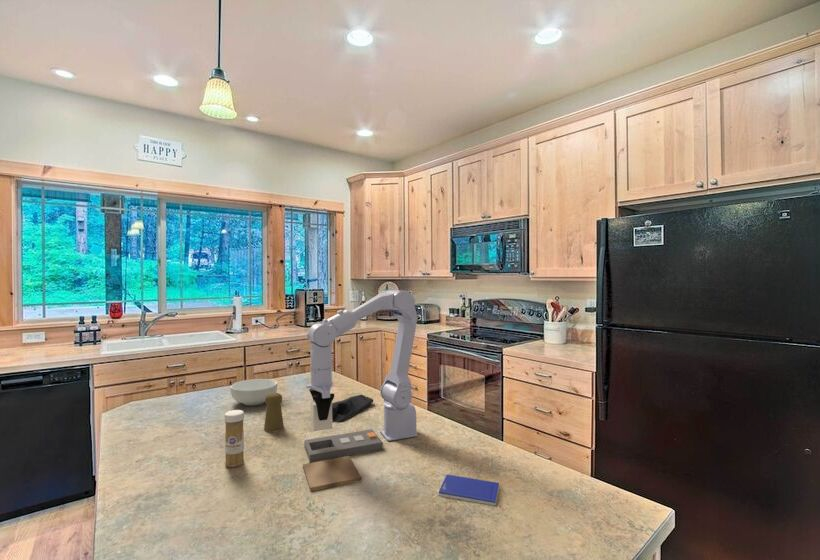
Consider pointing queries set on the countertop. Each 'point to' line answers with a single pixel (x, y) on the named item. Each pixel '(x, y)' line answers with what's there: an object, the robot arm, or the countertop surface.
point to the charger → (316, 422)
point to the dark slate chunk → (349, 407)
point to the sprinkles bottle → (234, 438)
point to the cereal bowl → (253, 390)
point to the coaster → (331, 473)
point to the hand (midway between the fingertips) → (321, 416)
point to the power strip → (342, 445)
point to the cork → (273, 413)
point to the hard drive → (469, 489)
